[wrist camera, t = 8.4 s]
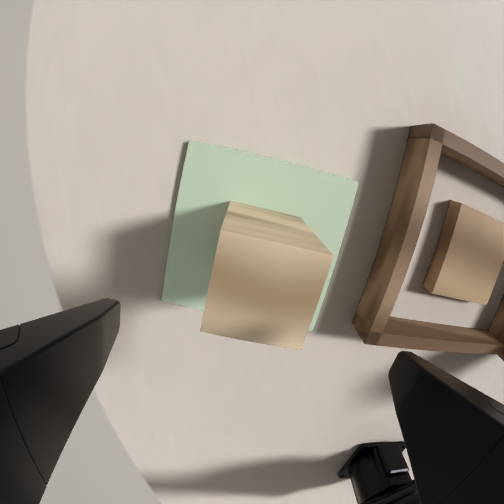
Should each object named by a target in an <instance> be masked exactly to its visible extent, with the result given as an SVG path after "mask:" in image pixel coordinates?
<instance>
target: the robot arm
mask: <svg viewBox="0 0 504 504" xmlns="http://www.w3.org/2000/svg"><path fill="white" fill-rule="evenodd" d="M119 326H120V302H119V301H117V300H114V299H110V298H105V299H101V300H98V301H95V302H92V303H88V304H85V305H82V306H78V307H75V308H72V309H69V310H65V311H62V312H59V313H55V314H52V315H49V316H46V317H42V318H39V319H36V320H32V321H29V322H26V323H22V324H20V326H19V325H16V326H12V327H9V328H6V329H2V330H0V504H39V503H40V501H41V498H42V496H43V493H44V491H45V488H46V485H47V484H48V481H49V479H50V477H51V474H52V472H53V470H54V468H55V465H56V463H57V461H58V459H59V457H60V454H61V452H62V450H63V448H64V446H65V444H66V442H67V439H68V438H69V436H70V434H71V431H72V429H73V428H74V426H75V424H76V421H77V420H78V418H79V416H80V414H81V411H82V409H83V408H84V406H85V404H86V402H87V400H88V398H89V396H90V394H91V392H92V390H93V388H94V387H95V385H96V383H97V381H98V379H99V377H100V375H101V373H102V371H103V369H104V367H105V364H106V362H107V359H108V356H109V354H110V351H111V349H112V346H113V344H114V341H115V339H116V336H117V334H118V331H119ZM388 376H389V382H390V386H391V391H392V396H393V401H394V406H395V410H396V414H397V418H398V421H399V425H400V428H401V431H402V435H403V438H404V442H396V443H381V444H363V445H360V446H359V447H358V448H357V450H356V451H355V453H354V454H353V455H352V457H351V458H350V459H349V461H348V462H347V463H346V465H345V466H344V467H343V468H342V470H341V471H340V472H339V474H338V477H339V478H350V479H351V482H352V485H353V489H354V493H355V496H356V500H357V503H358V504H504V405H503V404H501V403H500V402H498V401H496V400H494V399H492V398H491V397H489V396H487V395H485V394H484V393H482V392H480V391H478V390H477V389H475V388H473V387H471V386H470V385H468V384H466V383H464V382H463V381H461V380H459V379H457V378H456V377H454V376H452V375H450V374H449V373H447V372H445V371H443V370H442V369H440V368H438V367H436V366H435V365H433V364H431V363H429V362H428V361H426V360H424V359H423V358H421V357H419V356H417V355H416V354H414V353H412V352H408V351H401V352H399V353H398V355H397V357H396V359H395V361H394V362H393V364H392V366H391V368H390V370H389V375H388ZM405 448H406V449H407V452H408V456H409V460H410V463H411V467H412V471H413V475H414V480H412V479H411V477H410V475H409V472H408V470H409V468H408V466H407V463H406V461H405V459H404V457H403V455H402V452H403V450H404V449H405Z"/></svg>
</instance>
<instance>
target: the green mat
mask: <svg viewBox="0 0 504 504" xmlns="http://www.w3.org/2000/svg"><path fill="white" fill-rule="evenodd" d="M358 183H359V182H358V181H355V180H352V179H348V178H345V177H342V176H338V175H335V174H331V173H328V172H324V171H321V170H317V169H314V168H310V167H306V166H302V165H299V164H295V163H291V162H287V161H283V160H279V159H275V158H271V157H267V156H262V155H258V154H254V153H249V152H245V151H240V150H236V149H231V148H226V147H221V146H216V145H211V144H206V143H201V142H195V141H190V140H189V144H188V148H187V153H186V157H185V162H184V167H183V172H182V177H181V182H180V187H179V192H178V197H177V203H176V208H175V214H174V220H173V225H172V231H171V238H170V244H169V250H168V257H167V264H166V271H165V278H164V285H163V293H162V301H163V302H167V303H171V304H176V305H180V306H184V307H189V308H193V309H198V310H203V311H204V308H205V303H206V298H207V293H208V288H209V283H210V278H211V273H212V268H213V264H214V259H215V254H216V249H217V245H218V240H219V235H220V231H221V227H222V224H223V221H224V218H225V215H226V212H227V209H228V206H229V203H230V201H234V202H238V203H243V204H247V205H252V206H256V207H260V208H265V209H269V210H273V211H277V212H281V213H285V214H290V215H294V216H298V217H301V219H302V220H303V221H304V222H305V223H306V224H307V225H308V226H309V228H310V229H311V230H312V231H313V232H314V233H315V234H316V236H317V237H318V238H319V239H320V240H321V241H322V242H323V244H324V245H325V246H326V247H327V248H328V249H329V251H330V252H331V253H332V254H333V255H334V256H333V260H332V263H331V266H330V269H329V272H328V275H327V278H326V281H325V284H324V287H323V290H322V293H321V296H320V299H319V302H318V305H317V308H316V310H315V313H314V316H313V319H312V322H311V324H310V327H309V331H313V328H314V325H315V322H316V320H317V317H318V314H319V311H320V308H321V305H322V302H323V300H324V297H325V294H326V291H327V288H328V285H329V282H330V279H331V276H332V272H333V269H334V266H335V263H336V260H337V257H338V254H339V250H340V247H341V244H342V240H343V237H344V234H345V230H346V227H347V223H348V220H349V216H350V213H351V209H352V206H353V202H354V198H355V195H356V191H357V187H358Z"/></svg>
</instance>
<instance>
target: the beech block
mask: <svg viewBox="0 0 504 504" xmlns="http://www.w3.org/2000/svg"><path fill="white" fill-rule="evenodd" d="M333 256H334V255H333V254H332V253H331V252H330V251H329V249H328V248H327V247H326V246H325V245H324V244H323V242H322V241H321V240H320V239H319V238H318V237H317V236H316V234H315V233H314V232H313V231H312V230H311V229H310V228H309V226H308V225H307V224H306V223H305V222H304V221H303V220H302V219H301V217H298V216H294V215H290V214H285V213H281V212H277V211H273V210H269V209H265V208H260V207H256V206H252V205H247V204H243V203H238V202H234V201H230V203H229V206H228V209H227V212H226V215H225V218H224V221H223V224H222V227H221V231H220V235H219V240H218V245H217V249H216V254H215V259H214V264H213V268H212V273H211V278H210V283H209V288H208V293H207V298H206V303H205V308H204V313H203V318H202V324H201V329H200V331H201V332H206V333H210V334H215V335H220V336H225V337H230V338H235V339H240V340H245V341H251V342H256V343H262V344H268V345H273V346H279V347H286V348H292V349H298V350H301V349H302V346H303V343H304V341H305V338H306V335H307V333H308V330H309V327H310V324H311V322H312V319H313V316H314V313H315V310H316V308H317V305H318V302H319V299H320V296H321V293H322V290H323V287H324V284H325V281H326V278H327V275H328V272H329V269H330V266H331V263H332V260H333Z"/></svg>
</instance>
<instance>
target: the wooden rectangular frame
mask: <svg viewBox="0 0 504 504" xmlns="http://www.w3.org/2000/svg"><path fill="white" fill-rule="evenodd" d="M440 154H442V155H444V156H446V157H448V158H450V159H452V160H454V161H456V162H458V163H460V164H462V165H464V166H466V167H468V168H470V169H472V170H474V171H476V172H478V173H479V174H481V175H483V176H485V177H487V178H488V179H490V180H492V181H494V182H495V183H497V184H499V185H501V186H502V187H504V163H502V162H501V161H499V160H498V159H496V158H494V157H493V156H491V155H490V154H488V153H486V152H485V151H483V150H481V149H480V148H478V147H476V146H475V145H473V144H471V143H469V142H467V141H466V140H464V139H462V138H460V137H458V136H457V135H455V134H453V133H451V132H449V131H447V130H445V129H443V128H441V127H439V126H437V125H435V124H424V125H415V126H411V127H410V131H409V136H408V141H407V146H406V150H405V155H404V159H403V163H402V167H401V171H400V176H399V180H398V183H397V187H396V191H395V195H394V199H393V202H392V206H391V209H390V213H389V216H388V220H387V223H386V226H385V230H384V233H383V236H382V239H381V243H380V246H379V249H378V252H377V255H376V258H375V261H374V264H373V267H372V270H371V273H370V276H369V278H368V281H367V284H366V287H365V290H364V292H363V295H362V298H361V300H360V303H359V306H358V308H357V311H356V313H355V316H354V319H353V321H352V324H353V325H354V327H355V329H356V330H357V332H358V334H359V335H360V337H361V339H362V341H363V342H364V344H370V345H378V346H387V347H397V348H407V349H418V350H430V351H443V352H458V353H477V354H504V296H503V299H502V301H501V303H500V306H499V308H498V310H497V313H496V315H495V317H494V319H493V322H492V324H491V326H490V328H489V330H480V329H473V328H465V327H457V326H450V325H443V324H436V323H429V322H422V321H415V320H408V319H402V318H395V317H389V316H390V314H391V311H392V309H393V306H394V304H395V301H396V299H397V296H398V294H399V291H400V289H401V286H402V283H403V281H404V278H405V275H406V273H407V270H408V267H409V264H410V261H411V258H412V256H413V253H414V250H415V247H416V243H417V240H418V237H419V234H420V231H421V228H422V224H423V221H424V218H425V214H426V211H427V207H428V203H429V200H430V196H431V192H432V188H433V184H434V180H435V176H436V172H437V167H438V163H439V158H440ZM503 261H504V223H502V222H500V221H498V220H496V219H494V218H492V217H490V216H488V215H486V214H484V213H482V212H479V211H477V210H475V209H473V208H471V207H469V206H466V205H464V204H462V203H458V202H455V201H452V200H450V204H449V207H448V211H447V215H446V218H445V222H444V225H443V228H442V232H441V235H440V238H439V241H438V244H437V247H436V250H435V253H434V256H433V259H432V262H431V265H430V267H429V270H428V273H427V276H426V278H425V281H424V284H423V287H425V288H426V289H427V290H428V291H429V292H431V293H432V294H436V295H441V296H446V297H451V298H455V299H460V300H465V301H470V302H475V303H479V304H484V305H487V303H488V300H489V298H490V296H491V293H492V291H493V288H494V286H495V283H496V280H497V278H498V275H499V272H500V270H501V267H502V264H503Z"/></svg>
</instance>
